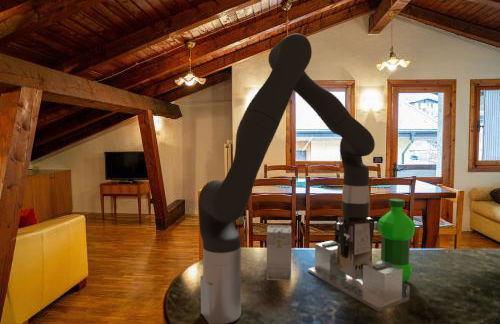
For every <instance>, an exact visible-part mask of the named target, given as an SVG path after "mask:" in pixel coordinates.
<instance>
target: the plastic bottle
mask: <svg viewBox="0 0 500 324" xmlns="http://www.w3.org/2000/svg"><path fill="white" fill-rule="evenodd" d="M388 201H389V203H388V206H389V207H390V210H389V211H388V212H387V213H386V214H384V215H383V216H382V217H380V218H379V219H378V221H377V232H378V233H379V235H380V236H381V242H380V245H381V248H380V259H379V261H380V260H381V261H384V262H390V263H392V264H393V265H394V266H397V267H399V268H402V269H403V274H402V283H405V282H407V281H408V280H410V277H411V276H412V273H413V267H412V263H411V262H410V251H411V250H410V248H411V245H410V244H411V239H412V238H413V237H414V235H415V233H416V225H415V222H414V221H413V219H412V218H410V217H409V215H407V214H406V213H405V212H403V208H404V207H405V204H406V203H405V201H406V200H404V199H401V198H389V199H388Z"/></svg>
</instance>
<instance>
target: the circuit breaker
mask: <svg viewBox="0 0 500 324" xmlns="http://www.w3.org/2000/svg"><path fill="white" fill-rule="evenodd" d="M266 229H267V230H266V281H285V282H286V281H287V282H291V281H292V226H291V225H280V224H279V225H275V224H274V225H273V224H271V225H270V224H268V225H267V228H266Z"/></svg>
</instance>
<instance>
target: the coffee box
mask: <svg viewBox="0 0 500 324" xmlns="http://www.w3.org/2000/svg"><path fill="white" fill-rule="evenodd" d="M343 220H344V216H343V215H342V216H337V223H342V222H343ZM344 233H345V234H348V235H350V238H349V244H348V246H349V257H348V258H344V257H342V256H341V245H340V244H339V243H338V246H337V268H338V269H340V270H341V271H343V272H344V273H345V274H347V275H348V276H350V277H351V278H353V279H360V278H363V265H365V264H368V263H372V262H373V238H372V234H373V222H370V221H368V220H365V219H363V220H356V221H351V222H349V229H347V227H346V229H345V230H344ZM373 235H374V234H373ZM346 238H347V237H345V240H346ZM339 239H340V237H339ZM345 240H344V241H345Z"/></svg>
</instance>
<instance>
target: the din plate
mask: <svg viewBox="0 0 500 324" xmlns="http://www.w3.org/2000/svg"><path fill="white" fill-rule="evenodd" d="M314 245H315V246H314V247H315V248H314V255H315V256H314V266H313V267H309V268H307V272H308V273H310V274H311V275H314V277H315V276H316V277H317V278H319V279H320V280H322V281H324V282H325V283H327V284H329V285H331V286H333V287H334V288H336V289H337V290H340V291H341V292H342V293H345V294H347V295H349V296H350V297H352V298H353V299H356V300H357V301H359V302H361V303H362V304H364V305H366V306H368V307H370V308H371V309H374V310H375V311H377V312H382V311H384V310H387V309H389V308H392V307H395V306H397V305H400V304H402V303H405V302H408V301H410V290H411V289H410V287H411V285H409V284H406V283H405V282H403V283H402V274H403V269H402V268H399V267H397V266H394V265H393V264H392V263H390V262H384V261H381V260H380V259H379V260H377V261H372V263H368V264H365V265H363V278H360V279H353V278H351V277H350V276H348V275H347V274H345V273H344V272H343V271H341V270H340V269H338V268H337V246H338V243H336V242H335V240H328V241H324V242H323V241H322V242H317V243H315V244H314Z"/></svg>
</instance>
